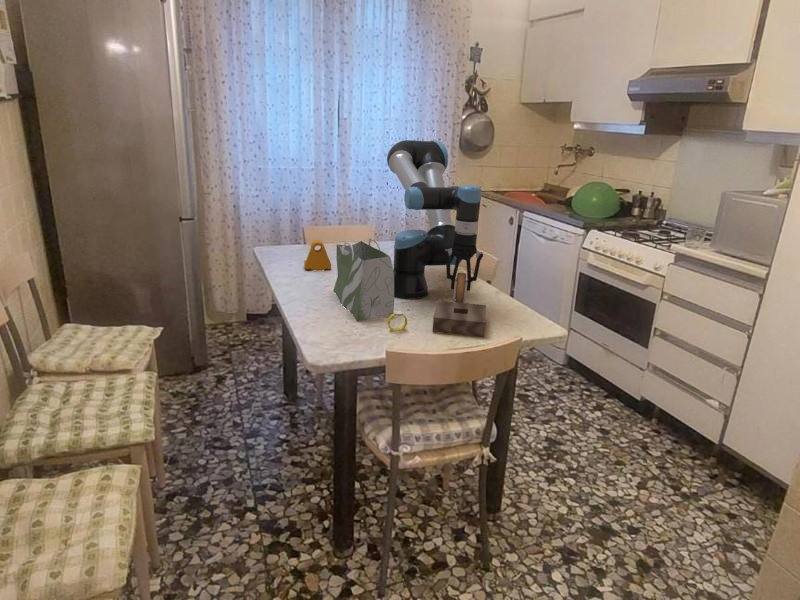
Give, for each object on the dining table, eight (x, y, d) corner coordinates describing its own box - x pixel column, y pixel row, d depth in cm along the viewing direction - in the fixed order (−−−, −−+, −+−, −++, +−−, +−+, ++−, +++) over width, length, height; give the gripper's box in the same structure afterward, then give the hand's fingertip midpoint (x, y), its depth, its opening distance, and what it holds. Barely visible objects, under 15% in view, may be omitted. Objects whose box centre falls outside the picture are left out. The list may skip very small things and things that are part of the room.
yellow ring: (404, 328, 167) (406, 310, 165) (406, 332, 164) (409, 314, 162) (386, 328, 165) (388, 310, 163) (388, 331, 162) (390, 313, 160)
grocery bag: (329, 291, 197) (329, 230, 189) (365, 288, 202) (366, 228, 194) (355, 322, 169) (356, 252, 161) (395, 318, 174) (398, 249, 166)
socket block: (432, 332, 164) (433, 317, 162) (437, 314, 179) (438, 300, 177) (484, 337, 162) (485, 322, 160) (484, 319, 177) (486, 305, 175)
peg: (454, 307, 184) (457, 274, 180) (454, 304, 187) (457, 272, 183) (462, 308, 184) (466, 275, 180) (463, 305, 187) (466, 273, 183)
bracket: (329, 265, 229) (329, 238, 225) (331, 270, 222) (331, 242, 218) (304, 266, 227) (303, 238, 223) (305, 271, 220) (304, 242, 216)
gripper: (441, 233, 174) (435, 299, 182) (489, 237, 172) (482, 304, 180) (442, 228, 181) (437, 292, 189) (489, 232, 179) (482, 297, 187)
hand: (459, 298), depth 184 cm, fingers closed on peg, 3 cm apart
